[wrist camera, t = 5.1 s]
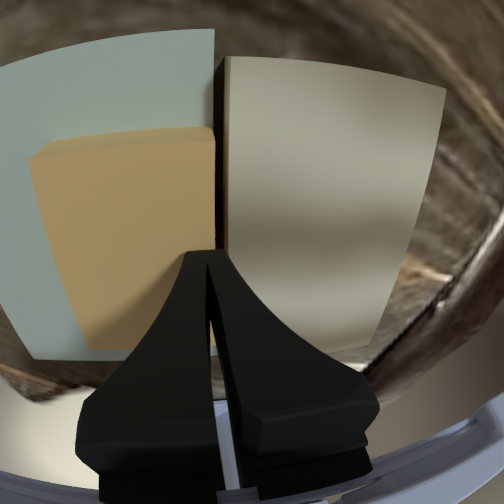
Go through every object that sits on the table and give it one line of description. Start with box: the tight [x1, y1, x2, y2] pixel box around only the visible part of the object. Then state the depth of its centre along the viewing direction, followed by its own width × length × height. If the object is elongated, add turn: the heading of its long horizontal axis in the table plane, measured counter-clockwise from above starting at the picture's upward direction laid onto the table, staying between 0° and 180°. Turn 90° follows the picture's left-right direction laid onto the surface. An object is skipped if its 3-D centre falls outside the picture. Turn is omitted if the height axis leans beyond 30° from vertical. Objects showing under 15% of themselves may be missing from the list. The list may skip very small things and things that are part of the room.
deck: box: [223, 56, 446, 353], centre depth 13 cm, size 14×8×2 cm, turn 178°
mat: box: [0, 29, 218, 361], centre depth 12 cm, size 16×12×1 cm
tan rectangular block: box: [28, 126, 216, 349], centre depth 12 cm, size 9×6×2 cm, turn 177°
